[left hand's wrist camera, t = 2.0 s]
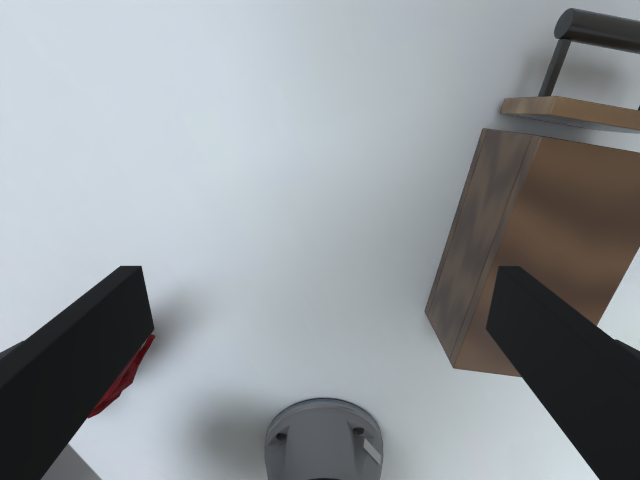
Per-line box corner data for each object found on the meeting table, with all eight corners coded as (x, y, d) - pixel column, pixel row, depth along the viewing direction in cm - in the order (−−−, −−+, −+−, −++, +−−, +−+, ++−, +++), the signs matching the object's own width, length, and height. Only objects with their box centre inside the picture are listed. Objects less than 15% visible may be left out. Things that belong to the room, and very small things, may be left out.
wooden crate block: (482, 128, 31) (541, 135, 22) (591, 146, 31) (687, 160, 23) (424, 311, 38) (452, 368, 30) (513, 324, 38) (566, 383, 30)
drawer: (529, 22, 27) (593, -4, 20) (638, 43, 27) (734, 23, 21) (442, 286, 35) (468, 325, 29) (526, 298, 36) (570, 339, 30)
